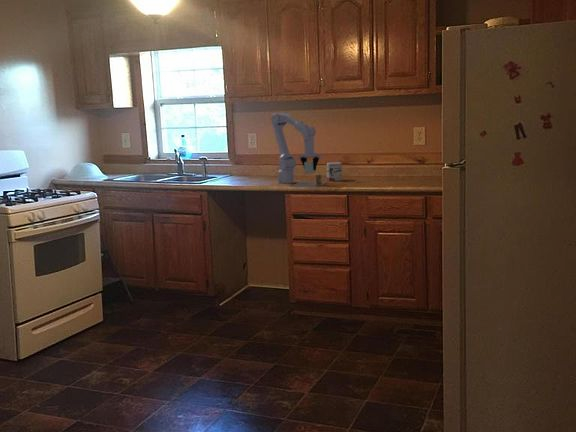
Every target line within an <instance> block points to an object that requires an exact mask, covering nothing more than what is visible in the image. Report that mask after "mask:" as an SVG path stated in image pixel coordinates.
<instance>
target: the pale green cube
mask: <svg viewBox="0 0 576 432" xmlns="http://www.w3.org/2000/svg"><path fill="white" fill-rule="evenodd" d="M304 168H305V169H304ZM303 169H304V174H314V173H316V172H317V171H316V170H317V169H316V170H314V164H313V160H310V161H309V160H307V161H306V162H304V166H303Z"/></svg>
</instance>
